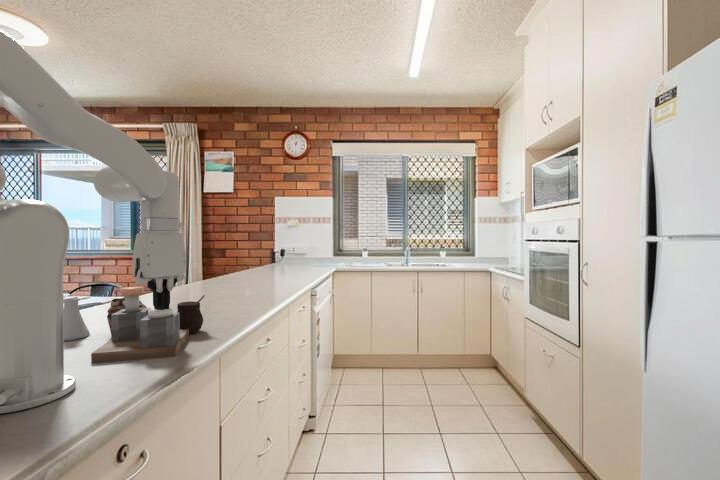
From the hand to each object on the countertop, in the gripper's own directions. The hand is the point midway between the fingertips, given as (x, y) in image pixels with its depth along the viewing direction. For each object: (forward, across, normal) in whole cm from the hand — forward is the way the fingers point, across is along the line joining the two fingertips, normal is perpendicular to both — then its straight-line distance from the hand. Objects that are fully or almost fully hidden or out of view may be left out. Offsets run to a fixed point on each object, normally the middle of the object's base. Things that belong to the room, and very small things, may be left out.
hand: (161, 308), depth 80 cm
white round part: (+6, 0, 0) cm, 6 cm away
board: (+10, 0, -5) cm, 11 cm away
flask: (+10, +5, -31) cm, 33 cm away
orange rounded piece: (+2, 0, -11) cm, 11 cm away
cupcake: (+10, -5, -22) cm, 24 cm away
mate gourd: (+10, -13, -9) cm, 19 cm away
